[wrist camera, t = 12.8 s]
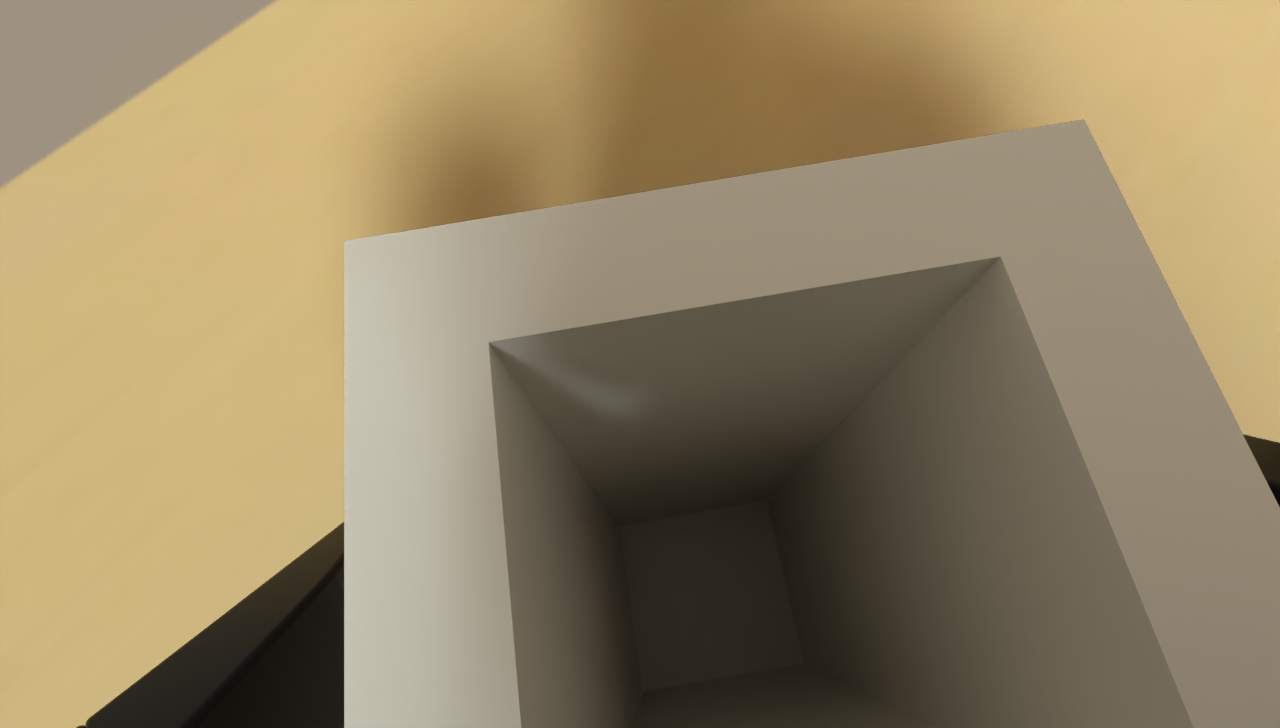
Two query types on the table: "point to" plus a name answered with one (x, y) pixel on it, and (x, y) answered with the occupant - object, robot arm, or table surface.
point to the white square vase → (800, 461)
